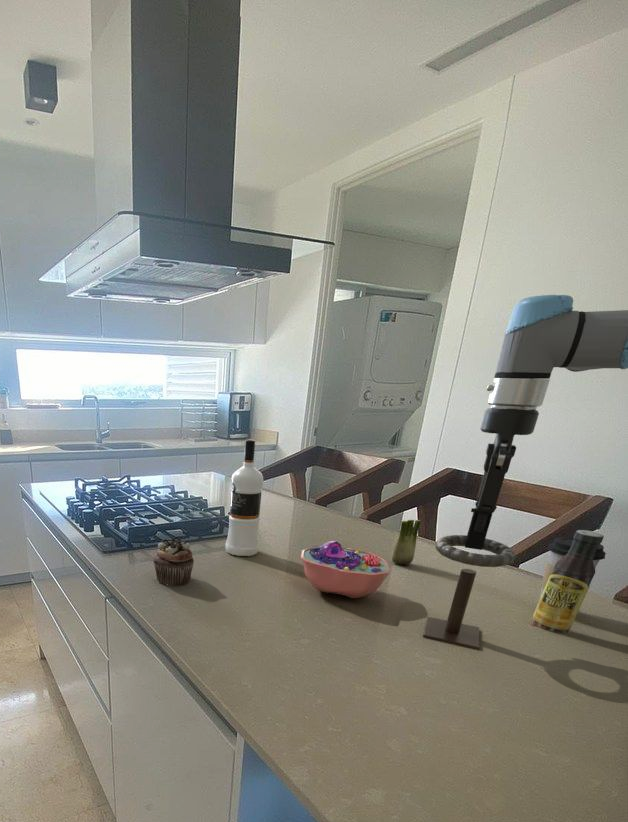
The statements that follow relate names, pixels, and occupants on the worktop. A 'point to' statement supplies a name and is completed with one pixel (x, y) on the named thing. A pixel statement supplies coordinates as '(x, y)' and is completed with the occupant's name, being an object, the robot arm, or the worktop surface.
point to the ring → (501, 559)
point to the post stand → (456, 617)
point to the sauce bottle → (568, 584)
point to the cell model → (344, 570)
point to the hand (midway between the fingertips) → (473, 545)
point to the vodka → (245, 506)
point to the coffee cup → (560, 550)
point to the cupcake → (173, 562)
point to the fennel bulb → (406, 542)
